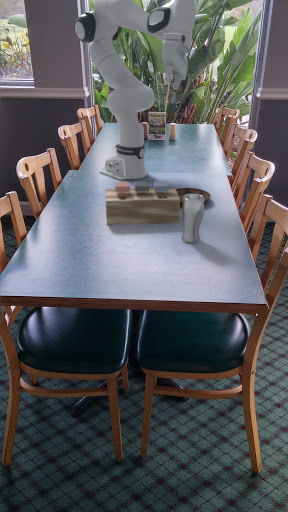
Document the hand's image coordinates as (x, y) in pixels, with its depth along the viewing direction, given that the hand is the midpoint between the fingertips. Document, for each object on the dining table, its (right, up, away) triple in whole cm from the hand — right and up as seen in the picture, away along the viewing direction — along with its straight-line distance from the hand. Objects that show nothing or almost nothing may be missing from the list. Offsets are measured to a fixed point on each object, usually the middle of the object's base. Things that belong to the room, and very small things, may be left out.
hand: (172, 84), depth 161 cm
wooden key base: (-11, -46, +9) cm, 48 cm away
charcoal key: (-11, -36, +5) cm, 38 cm away
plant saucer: (+8, -38, +25) cm, 46 cm away
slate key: (-4, -36, +5) cm, 37 cm away
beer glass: (+6, -55, -7) cm, 56 cm away
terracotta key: (-18, -36, +4) cm, 41 cm away
